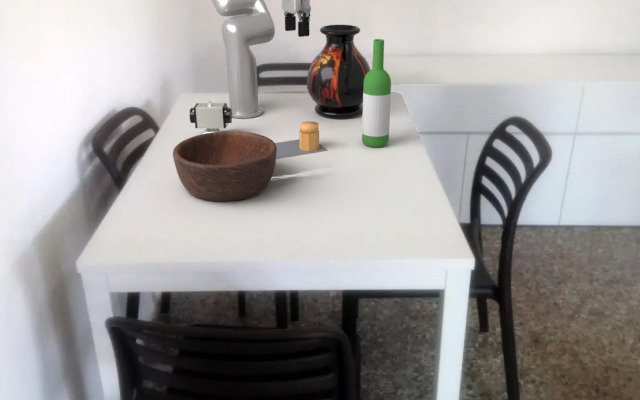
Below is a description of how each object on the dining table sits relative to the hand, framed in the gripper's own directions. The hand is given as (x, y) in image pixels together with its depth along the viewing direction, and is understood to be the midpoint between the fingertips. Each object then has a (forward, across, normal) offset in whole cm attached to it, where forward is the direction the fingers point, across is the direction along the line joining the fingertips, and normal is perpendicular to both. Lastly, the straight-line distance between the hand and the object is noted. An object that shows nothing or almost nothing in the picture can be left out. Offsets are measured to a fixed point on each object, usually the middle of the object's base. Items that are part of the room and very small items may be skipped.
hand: (297, 33), depth 182 cm
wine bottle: (+31, +17, +17) cm, 39 cm away
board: (+30, +13, -8) cm, 34 cm away
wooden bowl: (+31, +28, -31) cm, 52 cm away
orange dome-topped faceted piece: (+29, +15, -3) cm, 33 cm away
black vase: (+31, -15, +21) cm, 40 cm away
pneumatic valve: (+31, -6, -25) cm, 40 cm away
